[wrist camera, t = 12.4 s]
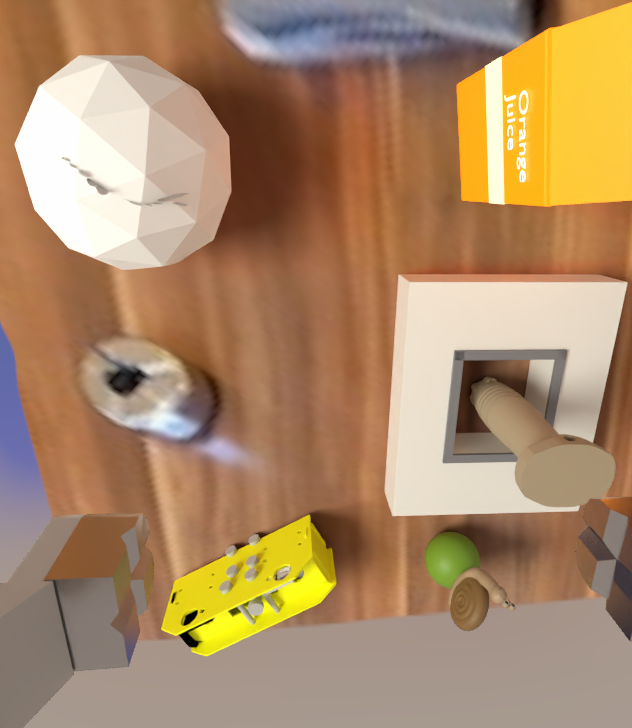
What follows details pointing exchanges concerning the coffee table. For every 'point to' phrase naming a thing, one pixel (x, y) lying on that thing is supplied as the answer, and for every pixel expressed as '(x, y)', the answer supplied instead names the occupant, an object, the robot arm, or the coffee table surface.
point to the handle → (543, 449)
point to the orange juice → (552, 118)
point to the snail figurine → (463, 579)
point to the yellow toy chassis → (251, 588)
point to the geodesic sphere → (125, 161)
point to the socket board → (490, 342)
